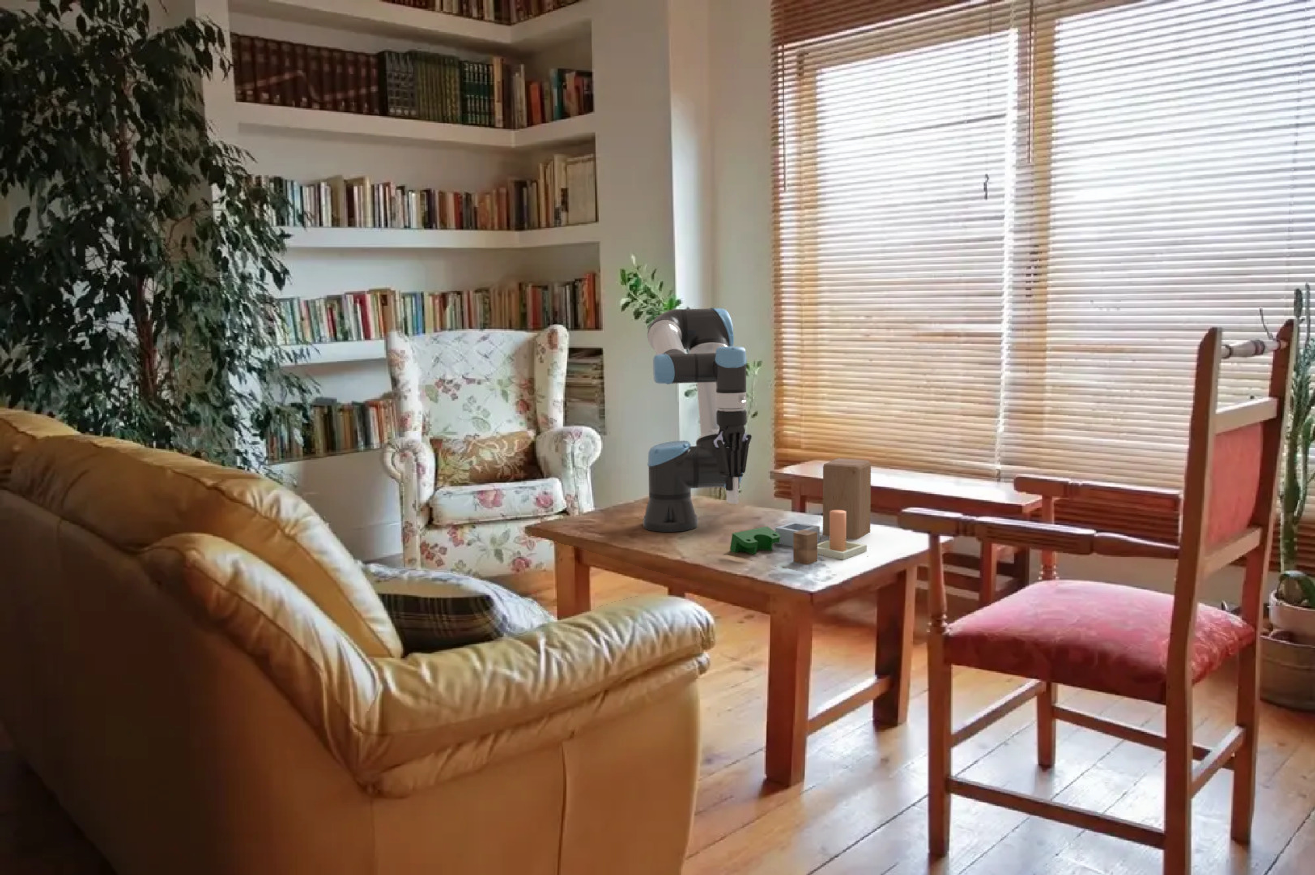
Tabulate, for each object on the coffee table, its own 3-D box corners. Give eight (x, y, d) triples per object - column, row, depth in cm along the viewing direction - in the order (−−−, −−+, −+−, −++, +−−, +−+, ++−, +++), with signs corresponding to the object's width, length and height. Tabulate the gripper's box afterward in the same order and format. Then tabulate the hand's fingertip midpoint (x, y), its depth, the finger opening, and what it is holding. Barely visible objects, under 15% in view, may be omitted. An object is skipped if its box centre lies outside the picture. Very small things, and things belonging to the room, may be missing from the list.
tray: (809, 556, 253) (809, 546, 252) (832, 548, 260) (832, 538, 260) (843, 563, 246) (843, 553, 246) (866, 554, 253) (866, 545, 253)
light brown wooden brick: (793, 565, 245) (793, 532, 244) (803, 562, 248) (803, 529, 247) (807, 568, 242) (807, 535, 241) (817, 565, 245) (817, 532, 244)
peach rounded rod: (826, 552, 253) (826, 512, 251) (835, 548, 256) (835, 509, 254) (840, 554, 250) (840, 514, 248) (849, 551, 253) (849, 511, 251)
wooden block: (857, 543, 264) (858, 466, 261) (821, 538, 270) (821, 463, 266) (871, 534, 273) (872, 460, 270) (836, 530, 278) (836, 457, 275)
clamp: (748, 575, 254) (741, 547, 249) (733, 564, 258) (726, 536, 253) (785, 550, 258) (779, 522, 253) (770, 540, 262) (764, 512, 258)
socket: (775, 546, 263) (775, 527, 262) (794, 540, 268) (794, 521, 267) (800, 552, 257) (800, 532, 256) (819, 545, 263) (819, 526, 262)
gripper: (725, 412, 248) (727, 508, 251) (759, 407, 257) (760, 500, 261) (702, 410, 253) (704, 505, 257) (736, 405, 262) (737, 496, 266)
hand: (732, 502), depth 259 cm, fingers closed
